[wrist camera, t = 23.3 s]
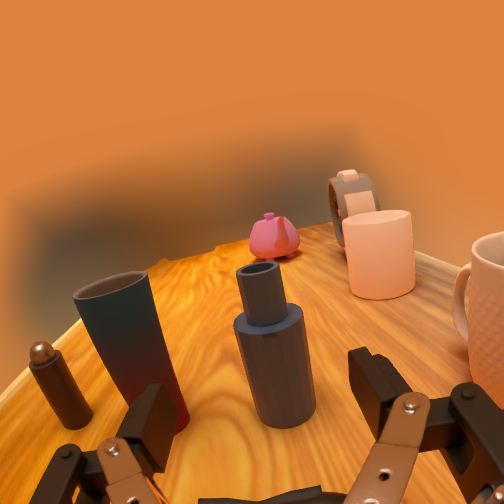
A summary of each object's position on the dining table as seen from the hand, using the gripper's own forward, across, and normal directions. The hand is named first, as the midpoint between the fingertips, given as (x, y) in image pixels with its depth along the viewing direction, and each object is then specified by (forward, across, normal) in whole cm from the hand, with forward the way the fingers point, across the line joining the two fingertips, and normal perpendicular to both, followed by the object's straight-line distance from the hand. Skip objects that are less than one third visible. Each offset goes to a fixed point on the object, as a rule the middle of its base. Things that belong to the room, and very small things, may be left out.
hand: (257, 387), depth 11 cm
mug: (+4, -21, +12) cm, 24 cm away
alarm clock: (+53, -24, +12) cm, 59 cm away
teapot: (+69, -6, +12) cm, 70 cm away
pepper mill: (+11, +23, +12) cm, 28 cm away
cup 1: (+11, +11, +12) cm, 20 cm away
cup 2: (+34, -21, +12) cm, 42 cm away
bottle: (+11, -1, +12) cm, 16 cm away
